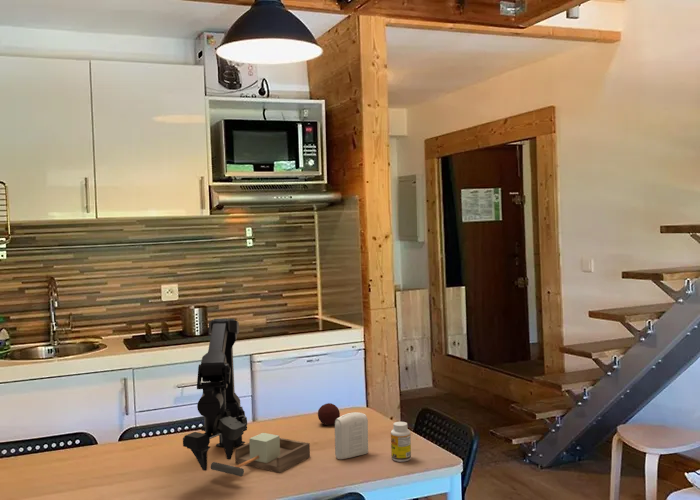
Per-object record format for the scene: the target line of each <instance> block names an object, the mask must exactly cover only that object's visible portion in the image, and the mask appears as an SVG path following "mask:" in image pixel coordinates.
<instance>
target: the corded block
mask: <svg viewBox="0 0 700 500" xmlns="http://www.w3.org/2000/svg"><path fill="white" fill-rule="evenodd" d="M280 438H281V437H280V435H277V434H272V433H268V432H267V433H266V432H261V433H259V434H257V435H254V436H252V437H249V439H248V443H249V444H250V460H247V461H245V462H243V463H241V464H236V465H235V466H233V465H231V464H230V465H229V464H225V463H221V462H216V461H212V462H211V463H210V469H211V471H217V472H219V473H220V472H221V473H224V474H229V475H233V476H237V477H242V476H244V473H245V469H244V468H243V467H244V466H247V465H246V464H248V463H250V462H252V461H259V462H263V463H268V462H270V461H272V460H274V459H276V458H277V457H279V456H280Z"/></svg>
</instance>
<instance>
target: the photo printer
mask: <svg viewBox="0 0 700 500" xmlns="http://www.w3.org/2000/svg"><path fill="white" fill-rule="evenodd" d="M368 420H369V419H368V417H367V415H366V414H365V413H363V412H355V411H354V412H353V411H352V412H349V413H345V414H343V415H341V416H340V417H339V418H337V419H336V420H335V424H334V446H335V447H334V450H335V451H334V453H335V454H334V455H335V458H336V459H338V460H345V459H351V458H354V457H358V456H362V455H366V454H368V453H369V421H368Z"/></svg>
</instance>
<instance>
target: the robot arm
mask: <svg viewBox="0 0 700 500" xmlns="http://www.w3.org/2000/svg"><path fill="white" fill-rule="evenodd" d="M239 333H240V322H239V321H238V320H236V319H235V318H214V319H211V320H209V321H208V334H209V335H210V339H209V346H208V351H207V353H205V354H204V355H202V357H201V360H200V361H201V362H200V364H198V368H197V380H196V390H202V395H201V396H200V398H199V400H198V402H197V405H196V408H197V412H198V413H199V414H200V415H201V417H203V418H204V422H203V423H204V425H203V426H201V431H202V432H204V433H202V432H197V431H193V432H191V433H189V434H185V435H184V436H183V438H182V447H185V448H187V449H189V450H190V451H191V452H192V454H193V455H194V457H195V459H196V460H197V462H198V464H199V466H200V468H201V470H202V471H205V472H206V471H207V469H208V451H209V449H210V448H211V446H209V444H210V443H211V439H214V438H216V437H218V436H219V437H218V438H219V442H218V443H216V444H215V446H216V447H217V448H218V447H219V448H223V449H224V453H225V456H226V457H225V458H226V460H228V461H231V460H232V456H233V454H234V451H235V449H236V448H238V447H241V446H243V445H245V443H246V442H245V441H243V435H245V434H244V433H245V432H246V431H248V418H247V416H246V412H245V411H244V409H243V408H244V407H243V406H241V399H240V398H239V396H238V394H237V393H236V392H235V371H234V370H235V369H234V348H233V347H234V344H235V343H236V341H237V338H238V334H239Z"/></svg>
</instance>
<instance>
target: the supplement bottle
mask: <svg viewBox="0 0 700 500" xmlns="http://www.w3.org/2000/svg"><path fill="white" fill-rule="evenodd" d="M392 425H393V426H392V427H393V428H392V429H391V431H390V444H391V445H390V451H391V452H390V453H391V455H390V456H391V459H392V460H393V461H395V462H400V463H403V462H404V463H405V462H408V461H411V459H412V446H411V445H412V442H411V441H412V439H411V438H412V437H411V430H410V429H408V422H405V421H395V422H393V423H392Z"/></svg>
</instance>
